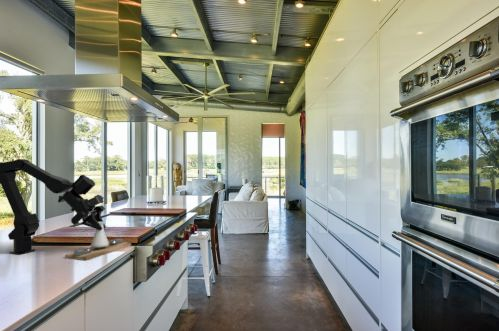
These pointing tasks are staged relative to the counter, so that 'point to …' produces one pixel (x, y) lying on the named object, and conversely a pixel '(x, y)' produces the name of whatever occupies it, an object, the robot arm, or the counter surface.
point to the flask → (100, 237)
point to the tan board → (98, 251)
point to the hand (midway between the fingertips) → (103, 228)
